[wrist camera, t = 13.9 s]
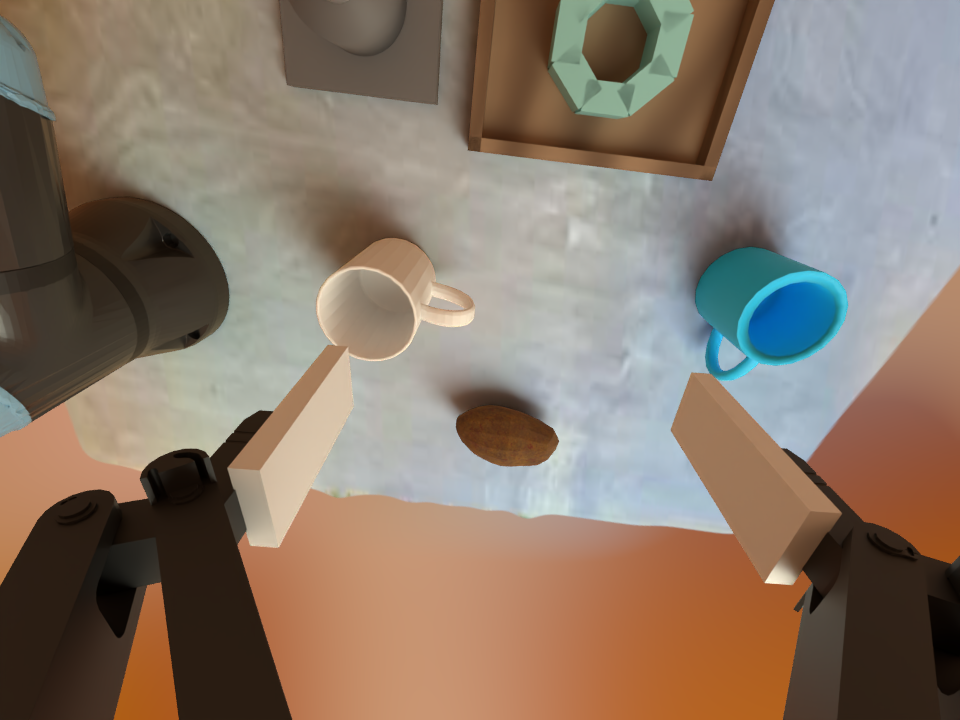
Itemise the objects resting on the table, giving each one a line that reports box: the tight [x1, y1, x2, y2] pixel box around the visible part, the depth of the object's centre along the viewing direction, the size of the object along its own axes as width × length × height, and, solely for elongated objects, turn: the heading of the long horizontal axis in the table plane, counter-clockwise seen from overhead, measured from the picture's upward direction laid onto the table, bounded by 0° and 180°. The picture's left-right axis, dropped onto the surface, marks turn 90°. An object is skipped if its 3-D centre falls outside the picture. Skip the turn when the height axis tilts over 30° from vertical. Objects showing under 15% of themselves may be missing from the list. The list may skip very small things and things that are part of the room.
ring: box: [547, 0, 694, 119], centre depth 29 cm, size 9×11×3 cm
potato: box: [456, 405, 559, 466], centre depth 45 cm, size 7×12×7 cm, turn 80°
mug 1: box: [316, 238, 475, 361], centre depth 36 cm, size 12×8×10 cm, turn 86°
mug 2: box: [695, 247, 848, 381], centre depth 37 cm, size 12×8×8 cm
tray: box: [468, 0, 775, 181], centre depth 30 cm, size 20×16×2 cm
